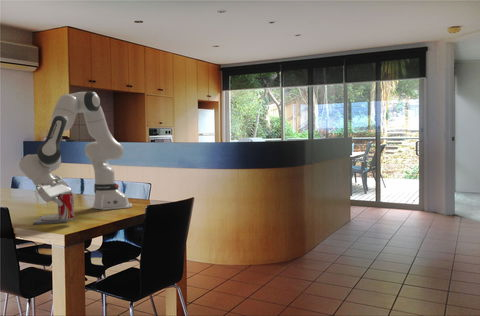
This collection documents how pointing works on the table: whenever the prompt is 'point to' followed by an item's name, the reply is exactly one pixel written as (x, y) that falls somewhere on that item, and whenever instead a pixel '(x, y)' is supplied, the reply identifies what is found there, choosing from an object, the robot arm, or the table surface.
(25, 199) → the table surface
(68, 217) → the soda can
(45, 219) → the slate can stand
